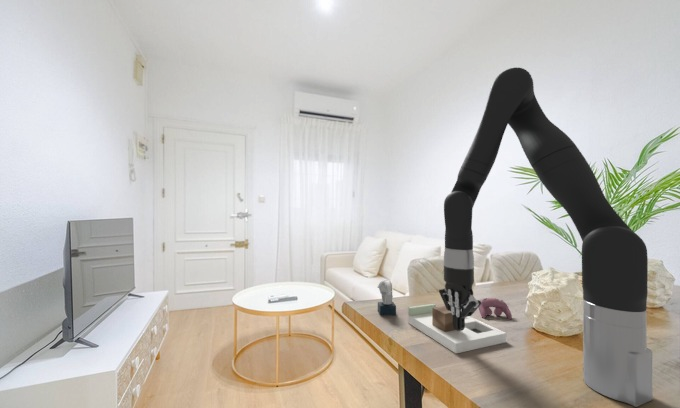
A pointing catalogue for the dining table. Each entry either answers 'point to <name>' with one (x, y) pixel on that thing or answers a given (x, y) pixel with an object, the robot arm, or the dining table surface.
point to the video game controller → (493, 302)
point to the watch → (386, 299)
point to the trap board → (455, 331)
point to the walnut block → (442, 318)
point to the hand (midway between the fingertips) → (458, 329)
